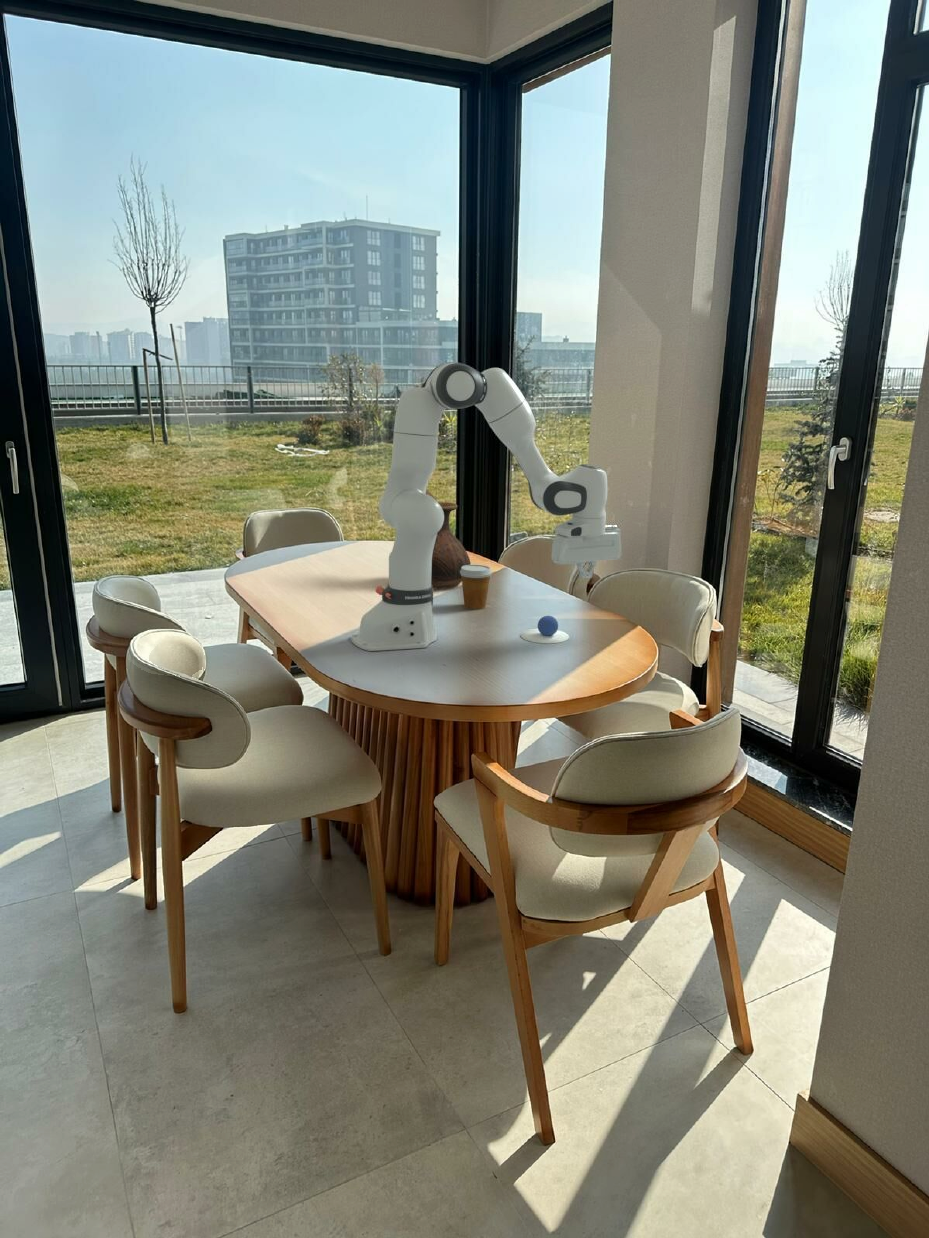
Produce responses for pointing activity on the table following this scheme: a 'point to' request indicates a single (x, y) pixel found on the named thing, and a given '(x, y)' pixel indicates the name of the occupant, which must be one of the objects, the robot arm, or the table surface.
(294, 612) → the table surface
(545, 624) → the ball
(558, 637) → the disc
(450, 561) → the jug
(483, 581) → the disposable coffee cup
